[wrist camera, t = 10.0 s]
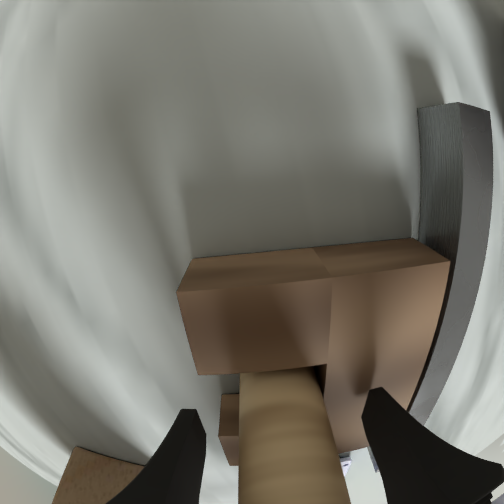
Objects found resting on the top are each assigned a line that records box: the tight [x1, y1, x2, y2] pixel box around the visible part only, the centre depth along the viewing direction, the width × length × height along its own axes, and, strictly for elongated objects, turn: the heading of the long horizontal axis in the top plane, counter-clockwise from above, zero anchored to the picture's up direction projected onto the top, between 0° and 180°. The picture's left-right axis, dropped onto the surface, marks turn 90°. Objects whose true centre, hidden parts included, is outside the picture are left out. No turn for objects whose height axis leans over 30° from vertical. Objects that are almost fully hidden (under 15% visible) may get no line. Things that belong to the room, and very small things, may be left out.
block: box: [176, 238, 450, 466], centre depth 12 cm, size 12×10×3 cm
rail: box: [367, 102, 493, 472], centre depth 12 cm, size 24×2×3 cm, turn 5°
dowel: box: [238, 366, 351, 504], centre depth 9 cm, size 4×4×9 cm
